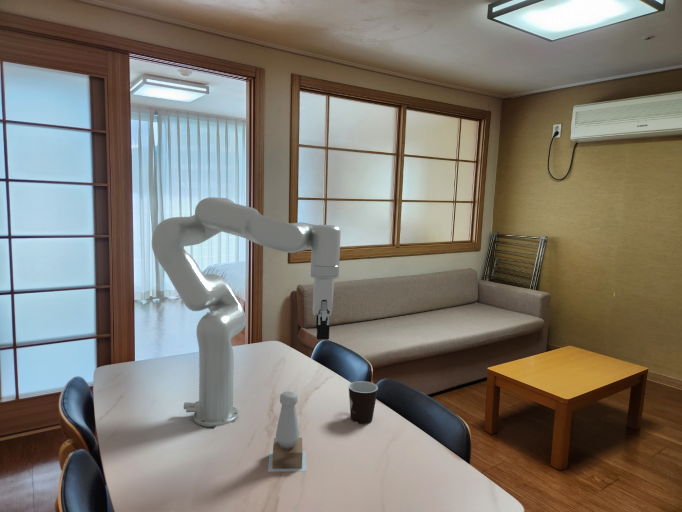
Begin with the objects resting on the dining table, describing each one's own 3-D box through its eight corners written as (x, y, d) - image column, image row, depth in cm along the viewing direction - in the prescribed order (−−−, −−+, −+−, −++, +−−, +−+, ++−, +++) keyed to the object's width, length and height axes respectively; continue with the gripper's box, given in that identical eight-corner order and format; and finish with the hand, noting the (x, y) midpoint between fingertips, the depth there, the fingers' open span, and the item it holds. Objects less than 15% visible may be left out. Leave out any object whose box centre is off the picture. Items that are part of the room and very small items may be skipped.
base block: (272, 468, 110) (272, 452, 110) (273, 452, 117) (274, 437, 117) (301, 468, 111) (302, 452, 111) (301, 452, 118) (302, 437, 117)
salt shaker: (275, 438, 116) (277, 388, 115) (299, 438, 117) (300, 388, 116) (275, 450, 111) (276, 398, 109) (299, 450, 111) (301, 398, 110)
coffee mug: (374, 427, 134) (375, 394, 132) (344, 423, 135) (346, 390, 134) (378, 410, 145) (380, 379, 144) (351, 406, 147) (353, 376, 145)
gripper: (310, 266, 133) (308, 325, 134) (310, 276, 115) (308, 343, 117) (337, 267, 133) (334, 325, 135) (341, 277, 116) (338, 344, 118)
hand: (322, 333), depth 126 cm, fingers open, 9 cm apart
